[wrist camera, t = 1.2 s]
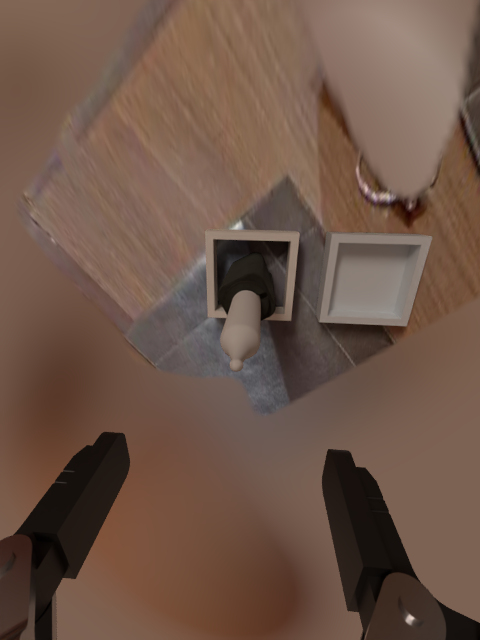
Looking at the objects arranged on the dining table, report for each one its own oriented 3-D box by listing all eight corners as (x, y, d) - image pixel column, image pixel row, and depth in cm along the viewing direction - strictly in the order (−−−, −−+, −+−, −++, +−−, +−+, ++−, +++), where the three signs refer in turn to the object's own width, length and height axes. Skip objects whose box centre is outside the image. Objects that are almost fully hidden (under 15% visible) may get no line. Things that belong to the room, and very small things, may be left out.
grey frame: (209, 229, 37) (205, 230, 35) (296, 231, 37) (299, 233, 34) (211, 309, 42) (208, 317, 39) (289, 313, 41) (290, 320, 39)
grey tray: (326, 231, 36) (332, 234, 34) (419, 234, 36) (432, 236, 33) (315, 314, 41) (319, 322, 38) (396, 317, 40) (406, 326, 38)
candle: (274, 281, 40) (291, 386, 17) (243, 295, 41) (219, 411, 18) (259, 249, 38) (255, 317, 15) (227, 265, 39) (179, 350, 16)
